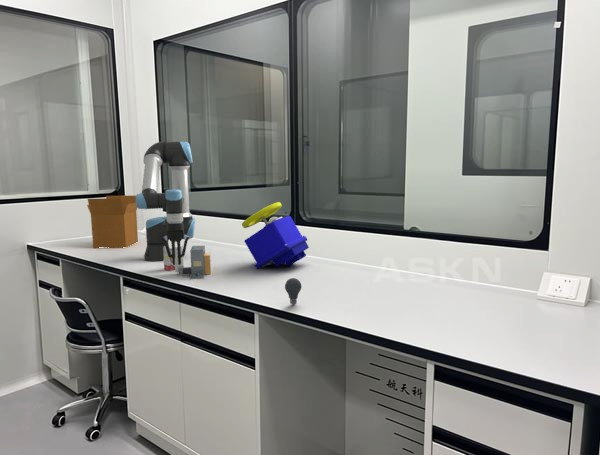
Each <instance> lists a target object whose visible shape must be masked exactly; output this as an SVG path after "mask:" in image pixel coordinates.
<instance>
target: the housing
mask: <svg viewBox="0 0 600 455" xmlns="http://www.w3.org/2000/svg"><path fill="white" fill-rule="evenodd" d="M189 252H190V267H191V274H190V277H189V278H190V280H194V279H195V280H199V279H202V280H203V279H205V276H206V274H205V266H204V254H206V245H192V246H191V248H190V251H189Z"/></svg>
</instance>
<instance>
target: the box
mask: <svg viewBox="0 0 600 455" xmlns="http://www.w3.org/2000/svg"><path fill="white" fill-rule="evenodd" d="M87 203H88V204H86V206H87V208H88V211H89V213H90V222H91V236H92V248H93V249H100V248H99V247H107V248H106V249H124V248H123V247H127V248H129V247H131V246H133V245H132V244H134V243H136V242H138V243H139V237H138V236H139V234H138V233H139V232H138V219H137V218H138V217H137V210H138V208H137V206H136V195H106V196H105V197H104V198H98V197H97V198H87ZM136 244H137V243H136ZM130 245H131V246H130ZM134 245H135V244H134ZM128 246H129V247H128ZM108 247H109V248H108Z"/></svg>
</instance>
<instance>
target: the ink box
mask: <svg viewBox="0 0 600 455" xmlns="http://www.w3.org/2000/svg"><path fill="white" fill-rule="evenodd" d="M180 246H181V254H182V251H183V246H184V245H183V246H182V245H180ZM169 248H170V252H171V254H172V245H169ZM163 250H164V260H163V269H164V271H167V272H172V271H175V265H173V261H172V258H171V257H168V254H167V250H166V247H165V246H164V247H163ZM176 257H178V251H177V244H175V258H176ZM179 266H183V267H184V266H185V265H184V257H181V264H180V265H179Z"/></svg>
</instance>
